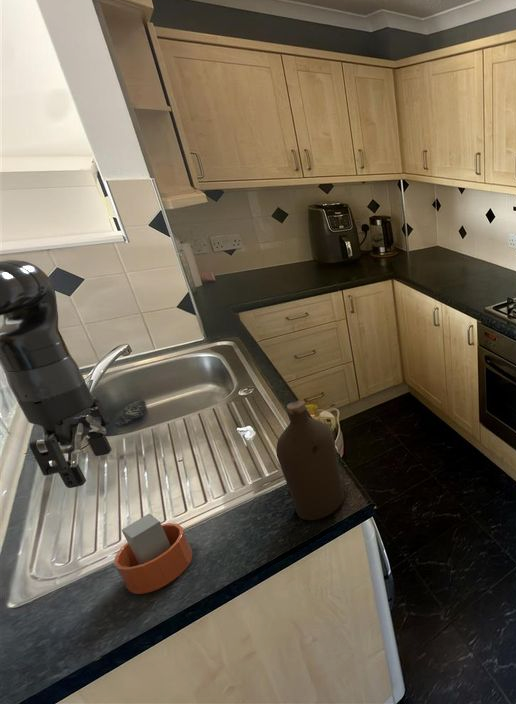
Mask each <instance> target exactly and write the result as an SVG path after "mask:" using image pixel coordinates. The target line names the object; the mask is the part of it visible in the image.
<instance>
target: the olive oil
mask: <svg viewBox="0 0 516 704" xmlns="http://www.w3.org/2000/svg"><path fill="white" fill-rule="evenodd" d="M286 410H287V416H288V419H289V424H288V425H287V426H286V427H285V428H284V430H283V431H282V433H280V436H279V438H278V439H277V442H276V449H275V450H276V451H275V452H276V458H277V461H278V463H279V466H280V469H281V471H282V474H283V477H284V479H285V482H286V485H287V487H288V492H287V493H288V495H289V497H290V498H291V499H292V502H293V505H294V509H295V511H296V514H297V516H298V517H299V518H300V519H302V520H304V521H317V520H321V519H323V518H326V517H328V516H331V514H333V513H335V511H336V510H338V508H340V507H341V505H342V503H343V501H344V497H345V496H344V489H343V483H342V478H341V473H340V467H339V461H338V453H337V448H336V441H335V435H334V433H333V431H332V430H331V428H330V427H329V426H328V425H327V424H326V423H324V422H322V421H320V420H319V419H315V418H312V417H309V413H308V408H307V406H306V403H305V401H304V400H301V399H300V400H299V399H298V400H294V401H291V402H289V403H288V404H287V405H286Z"/></svg>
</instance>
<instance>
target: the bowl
mask: <svg viewBox="0 0 516 704" xmlns="http://www.w3.org/2000/svg"><path fill="white" fill-rule="evenodd" d="M161 525H162V528H163V530H164V532H165V534H166V537H167V539H168V541H169V543H170V546H171V547H170V548H169V549H168V550H167V551H166V552H164V553H163V554H161V555H160V556H158V557H157V558H155V559H153V560H151V561H149V562H146V563H144V564H141V565H139V564H138V562H137V560H136V558H135V556H134V554H133V552H132V550H131V548H130V546H129V544H128V542H127V541H126V543H124V545H122V546H121V548H119V550H118V552H117V553H116V555H115V556H114V561H113V565H114V567H115V569H116V571H117V573H118V575H119V577H120V579H121V582H122V583H123V584H124V586H125V588H126V589H127V591H128V592H130V594H135V595H143V594H148V593H152V592H154V591H157V590H159V589H161V588H163V587H166V586H167V585H168V584H170V583H172V582H174V581H175V580H176V579H177V578H178V577H180V576H181V575H182V574H183V573H184V571H185V570H187V568H188V567H189V565H190V564H191V562H192V560H193V550H192V546H191V544H190V542H189V539H188V537H187V534H186V533H185V530H184V528H183V526H182V525H180V524H178V523H175V522H174V523H172V522H167V523H161Z"/></svg>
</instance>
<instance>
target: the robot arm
mask: <svg viewBox="0 0 516 704" xmlns="http://www.w3.org/2000/svg"><path fill="white" fill-rule="evenodd" d="M57 301H58V300H57V295H56V291H55V287H54V284H53V282H52V280H51V278H50V277H49V276H48V275H47V274H46V273H45V271H43V270H42V269H41V268H40V267H38V266H37V265H35V264H33V263H32V262H29V261H26V260H20V259H5V260H1V261H0V317H1V316H2V318H3V323H2V325H1V326H0V366H1V368H2V370H3V373H4V375H5V378H6V382H7V384H8V386H9V389H10V390H11V392H12V394H13V396H14V398H15V400H16V402H17V404H18V405H19V407H20V409H21V411H22V413H23V415H24V417H25V418H26V420H27V422H28V423H29V424H32V425H38V426H40V427H42V430H43V437H41V438H40V439H37V440H32V441H30V442H29V448H30V450H31V452H32V454H33V457H34V459H35V461H36V464H37V465H38V467H39V470H40V471H41V473H42V475H43V476H45V477H46V476H50V475H54V474H59V476H60V478H61V480H62V482H63V485H64V486H65V487H66V488H68V489H74V488H78V487H82V486H84V484H85V483H86V482H87V479H86V477H85V474H84V473H83V471H82V469H81V467H80V465H79V463H77V462H78V453H79V452H81V450H82V441H83V440H84V438H87V439H86V440H87V443H88V445H89V447H90V449H91V451H92V453H93V454H94V456H96V457H100V456H106V455H108V454H110V453H111V452H112V450H113V449H112V447H111V445H110V442H109V440H108V438H107V436H106V434H107V428H106V427H109V426H110V424H111V421H110V418H109V417H108V414H107V413H106V411H105V409H104V406H103V405H102V403H101V401H100V399H99V398H98V397H93V395H92V393H91V391H90V388H89V387H88V384H87V382H86V380H85V378H84V376H83V373H82V371H81V369H80V367H79V365H78V363H77V362H76V361H75V359H74V358H73V357H72V354H71V353H70V351H69V348H68V346H67V344H66V341H65V340H64V338H63V336H62V334H61V332H60V329H59V311H58V303H57ZM95 418H99V420H97V419H95ZM61 447H68V448H62V449H61ZM65 455H67V459H66V457H65ZM50 462H51V464H50Z"/></svg>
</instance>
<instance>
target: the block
mask: <svg viewBox="0 0 516 704" xmlns="http://www.w3.org/2000/svg"><path fill="white" fill-rule="evenodd" d="M121 531H122V534H123V536H124V538H125V540H126V543H127V542H128V544H129V546H130V548H131V550H132V552H133V554H134V556H135V558H136V560H137V562H138V564H139V565H141V564H144V563H146V562H149V561H151V560H153V559H155V558H157V557H158V556H160V555H161V554H163V553H164V552H166V551H167V550H168V549H169V548H170V547H171V546H170V543H169V541H168V539H167V537H166V534H165V532H164V530H163V528H162V523H161V521H160V520H159V519H158V518H156V517H155V516H153V515H152V514H151V513H148V514H145V515H144V516H142V517H141V518H139V519H137V520H135V521H134V522H132V523H130V524H128V525H127V526H125V527H124V528H122V529H121Z"/></svg>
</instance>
